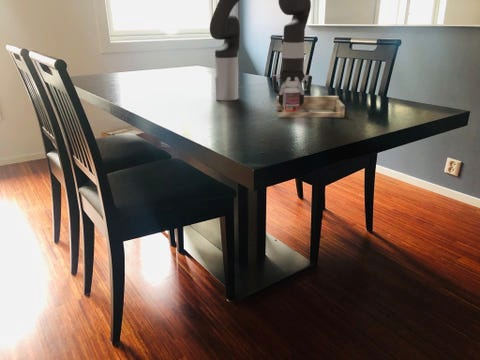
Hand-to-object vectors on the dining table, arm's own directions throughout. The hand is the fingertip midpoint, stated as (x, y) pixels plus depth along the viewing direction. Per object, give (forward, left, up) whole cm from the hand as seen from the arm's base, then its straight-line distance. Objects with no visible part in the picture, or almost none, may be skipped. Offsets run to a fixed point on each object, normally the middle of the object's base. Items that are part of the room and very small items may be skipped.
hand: (290, 104), depth 140 cm
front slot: (+11, 0, -3) cm, 12 cm away
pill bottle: (0, 0, -3) cm, 3 cm away
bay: (+6, 0, -3) cm, 7 cm away
